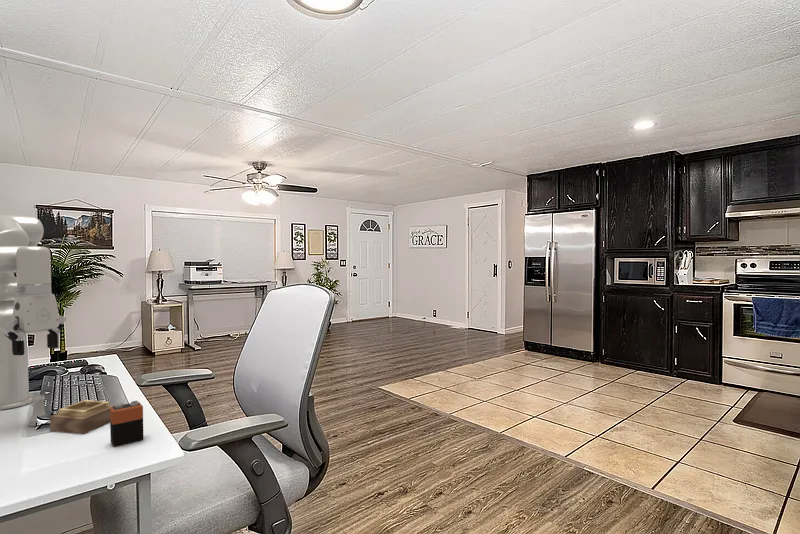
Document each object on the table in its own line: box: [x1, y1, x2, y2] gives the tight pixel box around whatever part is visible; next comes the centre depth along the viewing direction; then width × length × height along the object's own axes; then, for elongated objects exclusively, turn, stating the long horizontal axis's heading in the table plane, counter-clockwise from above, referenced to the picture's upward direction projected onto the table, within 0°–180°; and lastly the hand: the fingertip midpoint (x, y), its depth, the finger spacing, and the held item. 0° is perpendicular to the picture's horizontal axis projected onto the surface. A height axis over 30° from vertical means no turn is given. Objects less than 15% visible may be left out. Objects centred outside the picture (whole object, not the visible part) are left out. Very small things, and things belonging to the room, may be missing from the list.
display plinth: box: [49, 399, 114, 435], centre depth 128 cm, size 11×11×6 cm
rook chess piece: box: [28, 394, 47, 427], centre depth 129 cm, size 4×4×8 cm
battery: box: [109, 400, 144, 447], centre depth 117 cm, size 4×7×10 cm, turn 130°
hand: (36, 351), depth 128 cm, fingers open, 9 cm apart
